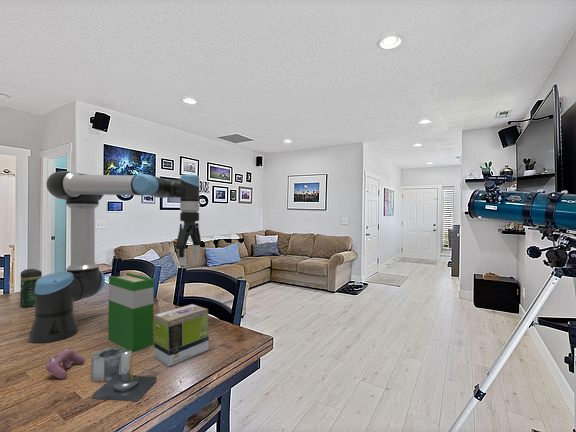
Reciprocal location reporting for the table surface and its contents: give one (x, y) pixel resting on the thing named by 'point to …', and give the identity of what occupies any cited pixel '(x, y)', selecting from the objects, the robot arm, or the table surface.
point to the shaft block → (125, 383)
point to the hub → (106, 364)
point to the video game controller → (63, 362)
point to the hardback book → (131, 311)
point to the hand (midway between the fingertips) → (189, 262)
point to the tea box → (180, 333)
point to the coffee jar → (28, 286)
